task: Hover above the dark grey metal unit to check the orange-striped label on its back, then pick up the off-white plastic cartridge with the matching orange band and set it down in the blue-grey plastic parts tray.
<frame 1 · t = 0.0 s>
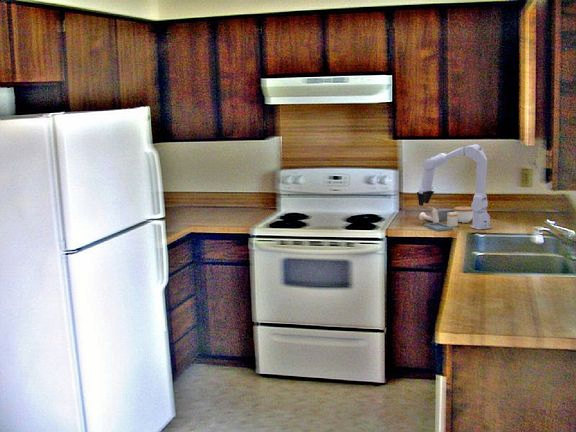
hand: (423, 204, 414), 11 cm above the worktop, tool pointing down, fingers open, 7 cm apart
lidded jar: (463, 222, 416), on the worktop
tray: (438, 228, 401), on the worktop
unit: (442, 220, 422), on the worktop
cartridge: (452, 225, 406), on the worktop
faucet: (429, 222, 421), on the worktop
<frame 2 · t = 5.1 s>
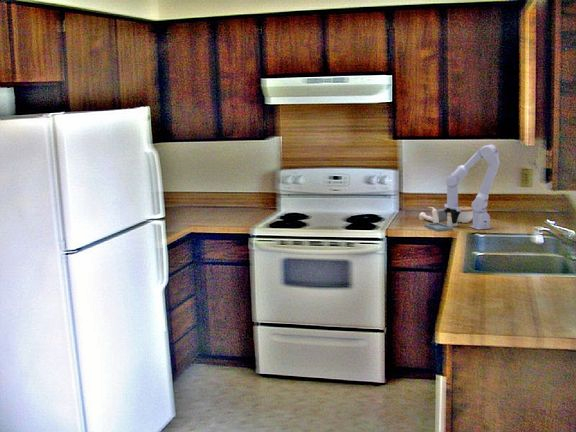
hand: (452, 222, 406), 2 cm above the worktop, tool pointing down, fingers closed on cartridge, 4 cm apart
cartridge: (452, 225, 406), on the worktop, touching gripper
everything else where it was.
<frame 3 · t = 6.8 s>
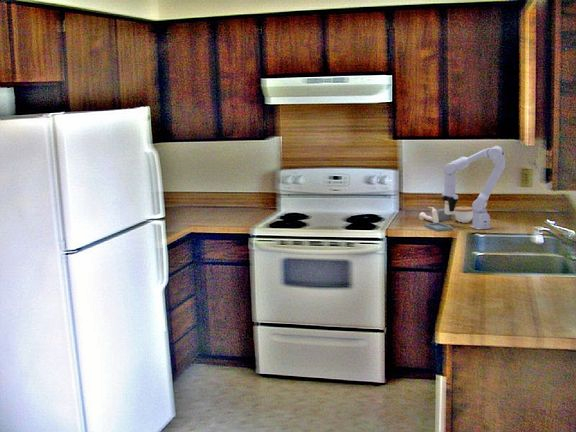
hand: (449, 210, 404), 8 cm above the worktop, tool pointing down, fingers closed on cartridge, 4 cm apart
cartridge: (449, 213, 404), point 7 cm above the worktop, touching gripper
everything else where it was.
when the fingers open (3 cm above the worktop, at t = 8.9 s): cartridge stays where it is, resting on tray.
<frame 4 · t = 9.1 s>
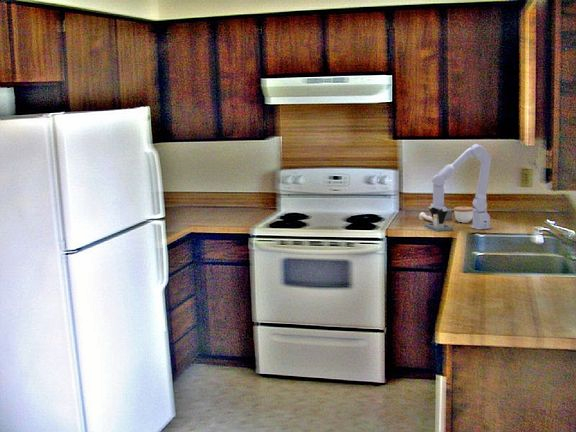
hand: (438, 222, 400), 3 cm above the worktop, tool pointing down, fingers open, 6 cm apart
cartridge: (438, 227, 400), resting on tray
everything else where it was.
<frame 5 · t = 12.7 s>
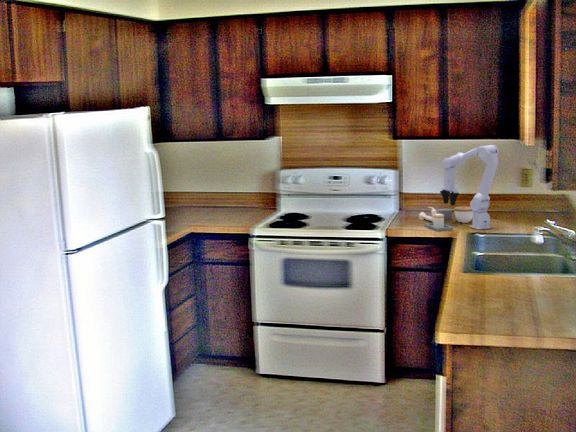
hand: (449, 204, 412), 10 cm above the worktop, tool pointing down, fingers open, 7 cm apart
nothing on the worktop moved.
at the end: cartridge inside the target area on the tray (0.1 cm from its centre), point 0.4 cm above the tray's base; cartridge tilted 0°; the gripper is holding nothing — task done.
